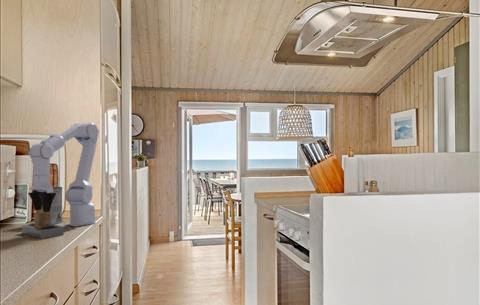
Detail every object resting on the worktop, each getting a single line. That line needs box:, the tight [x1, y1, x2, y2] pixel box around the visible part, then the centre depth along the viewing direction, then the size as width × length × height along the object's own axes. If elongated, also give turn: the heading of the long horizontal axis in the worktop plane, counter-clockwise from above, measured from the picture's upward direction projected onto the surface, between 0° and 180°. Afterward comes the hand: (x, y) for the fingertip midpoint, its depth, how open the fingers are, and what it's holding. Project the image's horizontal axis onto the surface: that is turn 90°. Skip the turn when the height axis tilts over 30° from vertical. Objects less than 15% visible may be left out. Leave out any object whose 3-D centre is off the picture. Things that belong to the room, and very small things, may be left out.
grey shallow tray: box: [21, 223, 65, 240], centre depth 139 cm, size 8×17×3 cm, turn 51°
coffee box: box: [35, 186, 63, 225], centre depth 163 cm, size 9×6×16 cm
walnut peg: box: [33, 212, 49, 228], centre depth 139 cm, size 4×4×8 cm
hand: (42, 210), depth 139 cm, fingers open, 7 cm apart
